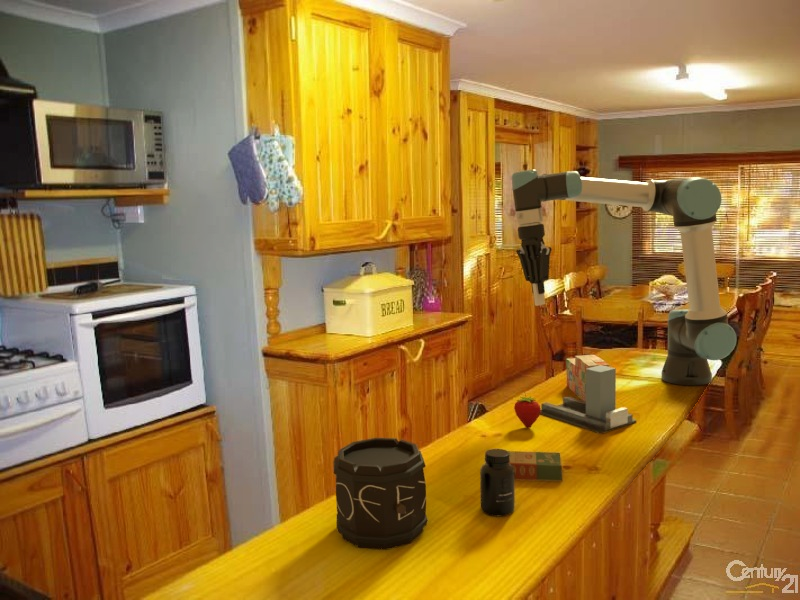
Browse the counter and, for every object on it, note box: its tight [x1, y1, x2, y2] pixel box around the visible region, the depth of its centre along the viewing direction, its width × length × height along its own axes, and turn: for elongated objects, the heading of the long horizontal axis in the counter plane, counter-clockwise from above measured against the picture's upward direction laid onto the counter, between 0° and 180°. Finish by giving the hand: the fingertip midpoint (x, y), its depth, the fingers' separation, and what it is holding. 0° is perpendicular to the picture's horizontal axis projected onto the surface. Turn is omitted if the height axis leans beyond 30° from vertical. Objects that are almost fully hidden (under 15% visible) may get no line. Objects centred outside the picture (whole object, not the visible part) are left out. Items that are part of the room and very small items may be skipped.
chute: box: [540, 396, 637, 434], centre depth 198 cm, size 14×23×5 cm, turn 34°
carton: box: [507, 450, 564, 483], centre depth 161 cm, size 8×16×4 cm, turn 80°
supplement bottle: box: [479, 448, 516, 517], centre depth 143 cm, size 7×7×12 cm
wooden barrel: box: [332, 437, 428, 551], centre depth 136 cm, size 18×18×16 cm
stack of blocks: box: [565, 354, 610, 402], centre depth 219 cm, size 21×6×12 cm, turn 4°
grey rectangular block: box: [586, 365, 617, 420], centre depth 193 cm, size 6×5×14 cm
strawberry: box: [513, 391, 541, 429], centre depth 191 cm, size 6×8×10 cm
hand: (540, 304), depth 210 cm, fingers closed
